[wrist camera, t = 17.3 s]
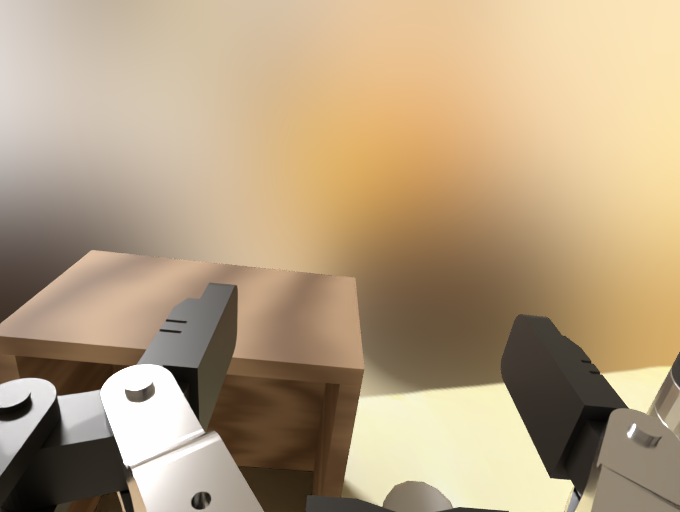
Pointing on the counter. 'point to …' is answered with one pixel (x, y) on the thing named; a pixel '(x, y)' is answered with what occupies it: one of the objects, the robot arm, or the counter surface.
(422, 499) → the salt shaker
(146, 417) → the robot arm
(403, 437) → the counter surface
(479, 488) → the counter surface
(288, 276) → the cubby
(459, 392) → the counter surface
